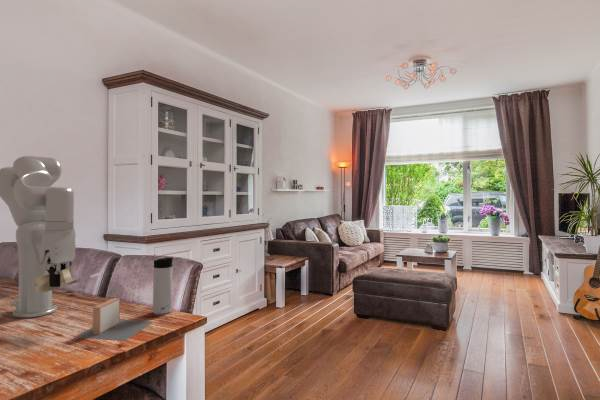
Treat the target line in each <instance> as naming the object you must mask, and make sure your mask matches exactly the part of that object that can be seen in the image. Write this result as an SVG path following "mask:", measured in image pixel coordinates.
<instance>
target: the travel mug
mask: <svg viewBox="0 0 600 400" xmlns="http://www.w3.org/2000/svg"><path fill="white" fill-rule="evenodd" d="M173 260H174V257H173V256H172V257H162V258H157V259H153V271H152V272H153V273H152V274H153V281H152V282H153V286H152V290H153V291H152V298H153V299H152V314H153V315H155V316H166V315H170V314H172V312H173Z"/></svg>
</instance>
